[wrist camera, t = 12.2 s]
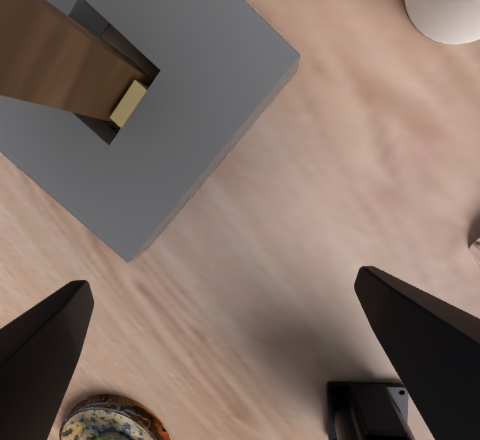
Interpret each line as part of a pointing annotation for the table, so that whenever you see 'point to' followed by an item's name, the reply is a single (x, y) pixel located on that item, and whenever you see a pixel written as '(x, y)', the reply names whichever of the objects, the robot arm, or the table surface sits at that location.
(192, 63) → the hub plate
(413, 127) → the table surface
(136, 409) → the plate of food
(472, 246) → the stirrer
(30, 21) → the walnut peg
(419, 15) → the cylindrical container
